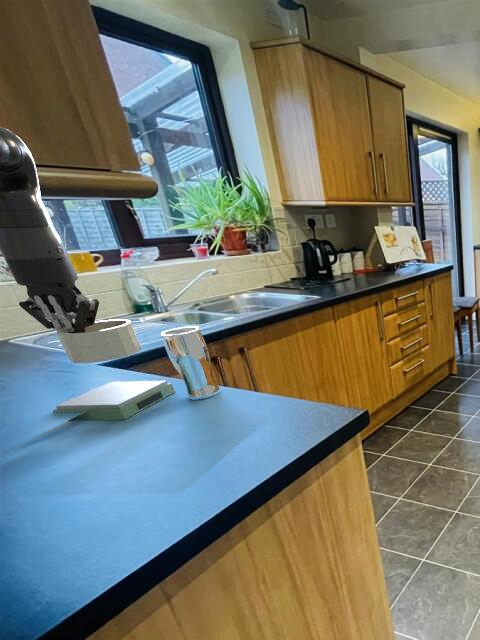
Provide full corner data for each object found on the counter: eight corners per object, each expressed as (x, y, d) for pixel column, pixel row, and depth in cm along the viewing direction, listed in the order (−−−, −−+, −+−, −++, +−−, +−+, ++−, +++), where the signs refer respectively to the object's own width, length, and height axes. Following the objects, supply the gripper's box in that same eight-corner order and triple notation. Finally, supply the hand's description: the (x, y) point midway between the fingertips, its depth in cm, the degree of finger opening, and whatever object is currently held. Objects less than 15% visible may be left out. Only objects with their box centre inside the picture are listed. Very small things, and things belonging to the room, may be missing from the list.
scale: (58, 421, 81) (50, 407, 80) (116, 393, 93) (110, 380, 92) (125, 419, 81) (119, 405, 79) (176, 392, 93) (171, 379, 91)
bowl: (54, 363, 72) (39, 334, 70) (107, 346, 81) (95, 319, 79) (107, 363, 72) (94, 334, 70) (154, 345, 81) (144, 319, 79)
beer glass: (199, 402, 87) (173, 336, 81) (178, 398, 89) (151, 334, 83) (229, 389, 93) (207, 327, 87) (209, 386, 95) (186, 325, 89)
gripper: (-28, 258, 66) (25, 356, 73) (50, 257, 66) (96, 356, 73) (24, 253, 73) (68, 343, 80) (94, 252, 73) (133, 343, 80)
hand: (81, 349), depth 76 cm, fingers closed on bowl, 1 cm apart
